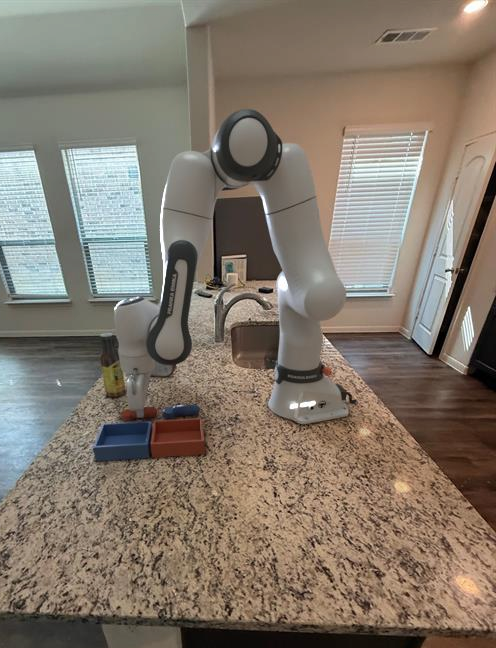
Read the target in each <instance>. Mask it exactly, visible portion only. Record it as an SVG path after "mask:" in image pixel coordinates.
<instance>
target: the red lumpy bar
mask: <svg viewBox="0 0 496 648" xmlns="http://www.w3.org/2000/svg"><path fill="white" fill-rule="evenodd" d="M158 413H159V410H158V409H157V408H156V407H155V406H144V417H142V418H141V419H147V418H155V417H156V416H158ZM120 418H121V421H123V422H132V421H133V420H134V419H139V418H138V417H137V413H136V411H131V410H130V409H129V408H125V409H123V410H121V412H120Z"/></svg>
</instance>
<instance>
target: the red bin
mask: <svg viewBox="0 0 496 648" xmlns="http://www.w3.org/2000/svg"><path fill="white" fill-rule="evenodd" d="M205 445H206V444H205V434H204V425H203V418H202V417H196V418H195V417H194V418H177V419H176V418H175V419H163V420H162V419H161V420H153V424H152V437H151V451H150V453H151V458H155V459H156V458H167V457H168V458H170V457H184V456H186V457H187V456H200V455H205V454H206V450H205V449H206V448H205Z"/></svg>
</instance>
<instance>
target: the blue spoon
mask: <svg viewBox="0 0 496 648" xmlns="http://www.w3.org/2000/svg"><path fill="white" fill-rule="evenodd" d="M200 411H201V409H200V406H199V405H198V404H195V403H194V404H177V405H173V406H167V407H165V408H164V409H163V417H164V418H165V419H166V420H173V419H176V417H183V416H196V415H198V414H199V413H200Z"/></svg>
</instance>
